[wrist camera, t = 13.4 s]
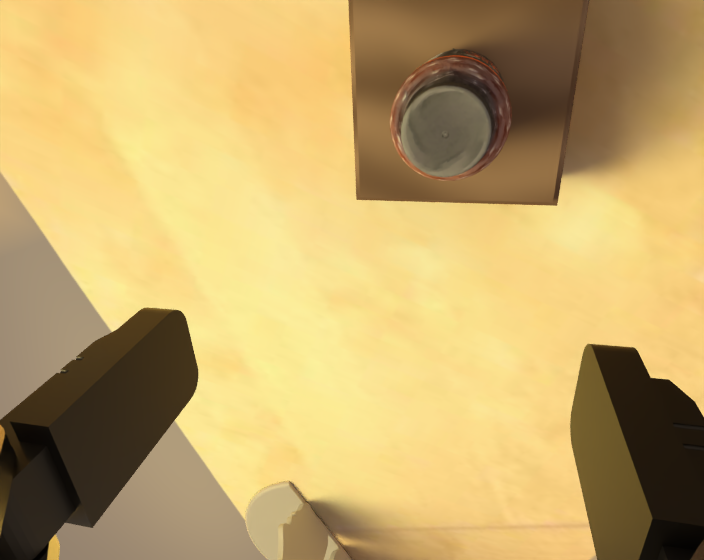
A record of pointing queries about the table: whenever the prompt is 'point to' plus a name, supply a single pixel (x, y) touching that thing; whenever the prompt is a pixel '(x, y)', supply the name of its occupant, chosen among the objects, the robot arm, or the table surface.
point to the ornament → (289, 526)
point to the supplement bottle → (451, 116)
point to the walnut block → (511, 61)
